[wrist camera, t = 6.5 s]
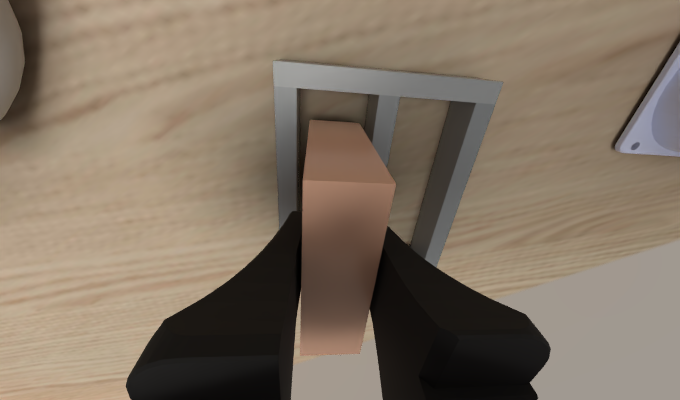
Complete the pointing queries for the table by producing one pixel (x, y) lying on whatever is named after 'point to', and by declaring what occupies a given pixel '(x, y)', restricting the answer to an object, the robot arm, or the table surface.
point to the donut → (9, 57)
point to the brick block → (340, 235)
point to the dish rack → (390, 132)
